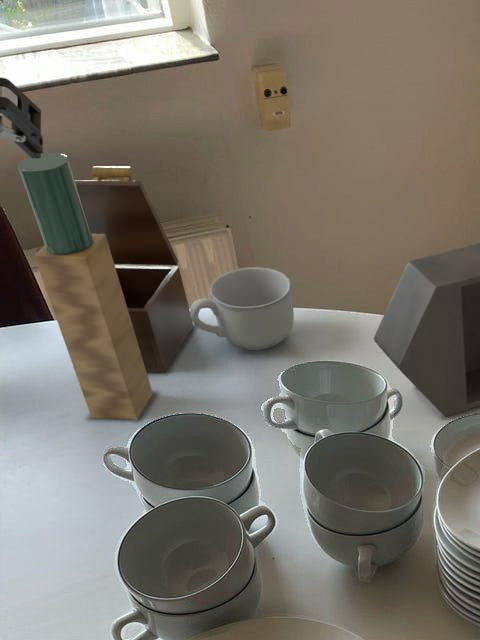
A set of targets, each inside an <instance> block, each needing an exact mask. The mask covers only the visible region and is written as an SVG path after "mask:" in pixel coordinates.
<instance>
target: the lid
mask: <svg viewBox="0 0 480 640" xmlns="http://www.w3.org/2000/svg"><path fill="white" fill-rule="evenodd" d="M91 176H92V180H91V179H90V180H89V179H88V180H87V179H86V180H84V179H83V180H82V179H81V180H80V179H75V182H76V185H77V188H78V191H79V195H80V198H81V201H82V204H83V208H84V211H85V214H86V217H87V221H88V224H89V227H90V230H91V233H92V234H105V235H106V238H107V242H108V245H109V248H110V252H111V255H112V258H113V262H114V265H133V266H178V264H179V260H178V257H177V255H176V253H175V251H174V248H173V247H172V244H171V242H170V240H169V238H168V235H167V234H166V232H165V229H164V227H163V225H162V223H161V221H160V219H159V216H158V215H157V213H156V210H155V209H154V206H153V204H152V202H151V200H150V197H149V195H148V194H147V190H146V189H145V187H144V185H143V182H142V181H141V180H136V179H137V178H136V171H135V169H134V167H133V166H93V167H92V169H91Z"/></svg>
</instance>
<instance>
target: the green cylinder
mask: <svg viewBox="0 0 480 640" xmlns="http://www.w3.org/2000/svg"><path fill="white" fill-rule="evenodd" d="M17 166H18V167H17V168H18V170H19V174H20V176H21V179H22V183H23V186H24V188H25V191H26V194H27V197H28V199H29V203H30V205H31V208H32V211H33V214H34V218H35V220H36V224H37V226H38V229H39V231H40V235H41V237H42V240H43V244H44V245H45V246H46V249H47V250H48V251H49V252H50V253H53V254H60V255H65V254H73V253H77V252H80V251H83V250H85V249H87V248H89V247H90V246H91V245H92V244H93V241H94V240H93V237H92V233H91V230H90V227H89V224H88V221H87V217H86V214H85V211H84V208H83V204H82V201H81V198H80V195H79V191H78V188H77V185H76V182H75V180H76V179H75V175H74V172H73V169H72V165H71V162H70V159H69V157H68V156H67V155H65V154H62V153H56V152H49V153H41V158H34V159H32V158H31V157H30V156H28V157H27V158H24V159H22V160H21V161H19V163H18V165H17Z"/></svg>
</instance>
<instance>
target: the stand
mask: <svg viewBox="0 0 480 640" xmlns="http://www.w3.org/2000/svg"><path fill="white" fill-rule="evenodd" d="M92 237H93V240H94V241H93V244H92V245H91V246H90V247H89V248H87V249H85V250H83V251H80V252H77V253H73V254H65V255H60V254H53V253H50V252H49V251H48V250H47V249H46V246H45V244H44V245H43V246H42V247H41V248H40V249H39V250H37V252H36V253H35V254H34V255H33V256H34V260H35V263H36V266H37V268H38V271H39V274H40V277H41V279H42V282H43V285H44V288H45V290H46V294H47V297H48V299H49V302H50V305H51V308H52V310H53V313H54V316H55V319H56V321H57V325H58V327H59V330H60V334H61V336H62V338H63V341H64V344H65V347H66V350H67V353H68V355H69V359H70V361H71V364H72V367H73V370H74V372H75V375H76V378H77V381H78V383H79V386H80V389H81V393H82V395H83V397H84V401H85V404H86V406H87V408H88V412H89V414H90V418H91V419H110V420H111V419H112V420H138V419H139V417H140V416H141V414H142V412H143V411H144V409H145V408H146V406H147V404H148V402H149V401H150V400H151V398H152V396H153V395H154V391H153V389H152V386H151V383H150V380H149V376H148V372H146V369H145V366H144V362H143V359H142V356H141V352H140V349H139V346H138V342H137V339H136V335H135V332H134V329H133V325H132V322H131V319H130V315H129V312H128V309H127V305H126V302H125V299H124V295H123V292H122V289H121V285H120V282H119V279H118V275H117V272H116V268H115V265H116V264H114V262H113V258H112V255H111V252H110V248H109V245H108V242H107V238H106V235H105V234H92Z"/></svg>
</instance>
